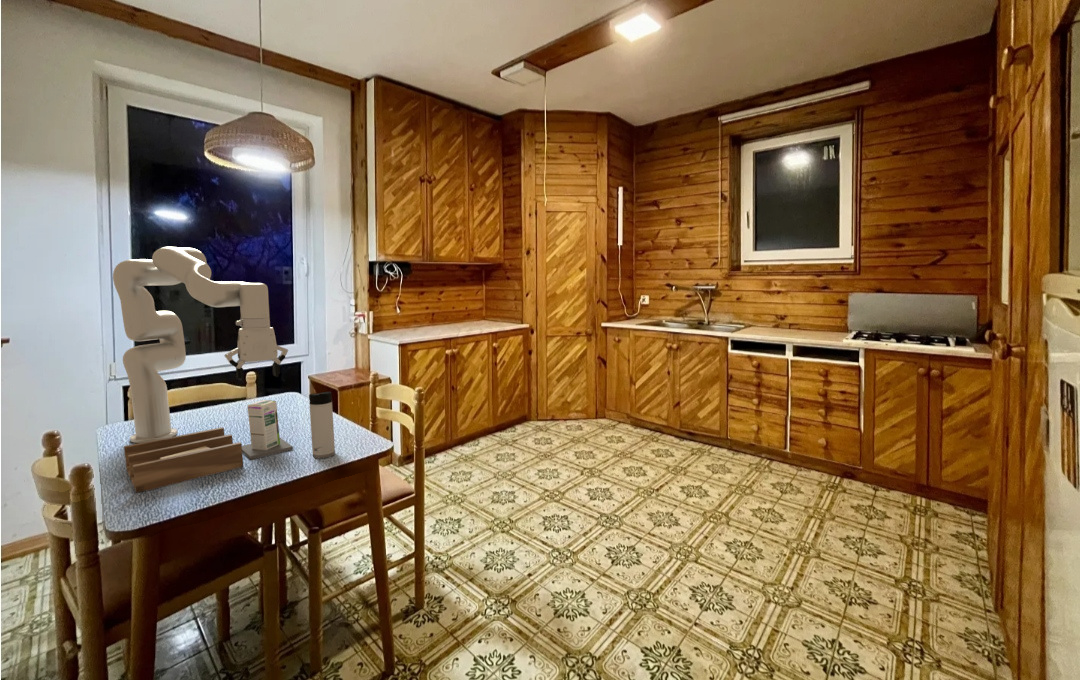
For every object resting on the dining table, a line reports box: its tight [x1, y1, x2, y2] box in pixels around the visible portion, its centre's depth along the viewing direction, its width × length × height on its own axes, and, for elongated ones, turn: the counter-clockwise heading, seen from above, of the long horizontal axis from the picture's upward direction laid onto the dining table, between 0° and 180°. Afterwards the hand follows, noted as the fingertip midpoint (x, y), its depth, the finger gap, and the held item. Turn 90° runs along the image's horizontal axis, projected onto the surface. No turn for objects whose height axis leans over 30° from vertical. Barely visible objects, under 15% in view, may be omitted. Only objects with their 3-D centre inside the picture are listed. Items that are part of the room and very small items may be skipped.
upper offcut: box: [160, 446, 210, 459], centre depth 136 cm, size 6×11×3 cm, turn 148°
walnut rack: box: [123, 426, 244, 493], centre depth 139 cm, size 21×24×7 cm
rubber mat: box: [242, 437, 294, 460], centre depth 154 cm, size 12×12×1 cm
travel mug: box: [308, 391, 336, 460], centre depth 148 cm, size 6×7×20 cm
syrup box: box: [247, 399, 281, 450], centre depth 153 cm, size 6×6×14 cm
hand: (258, 378), depth 151 cm, fingers open, 9 cm apart
